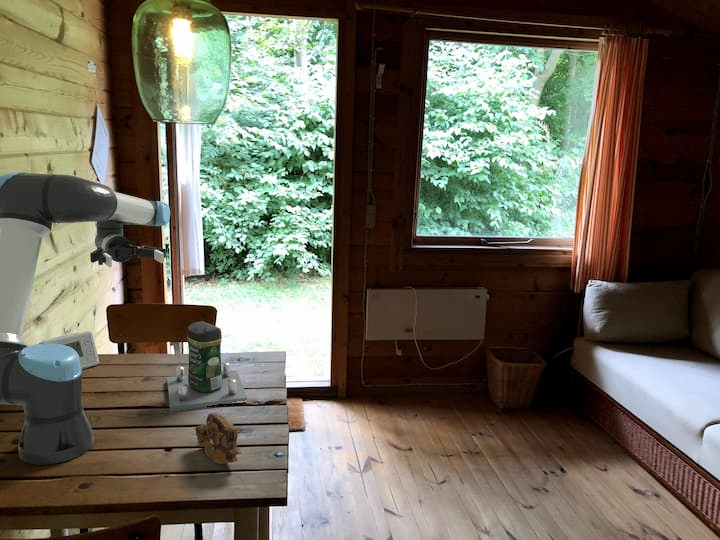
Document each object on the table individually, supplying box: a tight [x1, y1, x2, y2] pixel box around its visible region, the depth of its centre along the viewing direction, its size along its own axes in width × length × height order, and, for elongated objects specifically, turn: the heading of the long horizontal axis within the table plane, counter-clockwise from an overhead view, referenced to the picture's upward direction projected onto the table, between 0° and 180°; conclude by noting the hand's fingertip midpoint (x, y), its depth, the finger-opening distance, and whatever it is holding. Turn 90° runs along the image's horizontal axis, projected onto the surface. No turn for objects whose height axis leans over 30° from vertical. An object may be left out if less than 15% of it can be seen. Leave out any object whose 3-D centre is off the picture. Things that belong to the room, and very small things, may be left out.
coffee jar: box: [186, 320, 223, 393], centre depth 160 cm, size 10×8×19 cm
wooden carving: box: [194, 412, 242, 465], centre depth 127 cm, size 16×5×10 cm, turn 48°
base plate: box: [166, 361, 248, 412], centre depth 161 cm, size 20×20×6 cm
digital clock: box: [38, 330, 100, 371], centre depth 173 cm, size 16×9×11 cm, turn 131°
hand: (137, 260), depth 154 cm, fingers open, 13 cm apart
